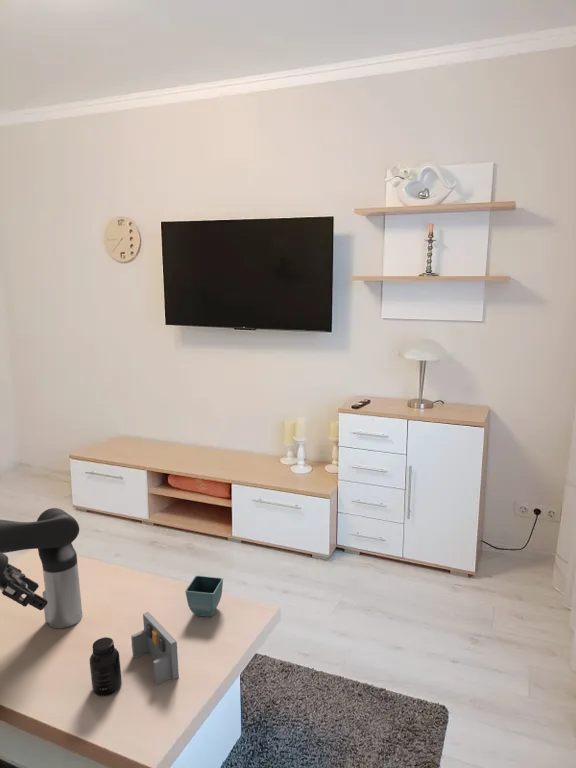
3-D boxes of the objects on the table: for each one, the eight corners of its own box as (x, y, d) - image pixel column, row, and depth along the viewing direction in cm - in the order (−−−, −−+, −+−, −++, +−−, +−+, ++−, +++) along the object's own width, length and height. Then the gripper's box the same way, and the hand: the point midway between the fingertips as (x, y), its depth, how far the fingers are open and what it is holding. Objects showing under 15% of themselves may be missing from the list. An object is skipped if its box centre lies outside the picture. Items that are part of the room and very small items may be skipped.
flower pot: (215, 622, 162) (213, 593, 160) (186, 619, 164) (184, 590, 162) (224, 605, 170) (223, 577, 169) (196, 602, 172) (195, 575, 171)
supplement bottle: (96, 678, 140) (92, 635, 138) (124, 676, 141) (120, 633, 138) (89, 698, 133) (84, 653, 131) (118, 696, 134) (114, 651, 132)
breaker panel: (158, 687, 137) (155, 650, 135) (131, 654, 149) (128, 619, 147) (178, 677, 140) (176, 641, 138) (150, 645, 152) (148, 611, 150)
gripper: (-41, 564, 121) (21, 598, 129) (-33, 592, 109) (35, 627, 118) (-15, 535, 123) (44, 570, 131) (-5, 559, 112) (60, 596, 120)
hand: (40, 597), depth 125 cm, fingers open, 8 cm apart
